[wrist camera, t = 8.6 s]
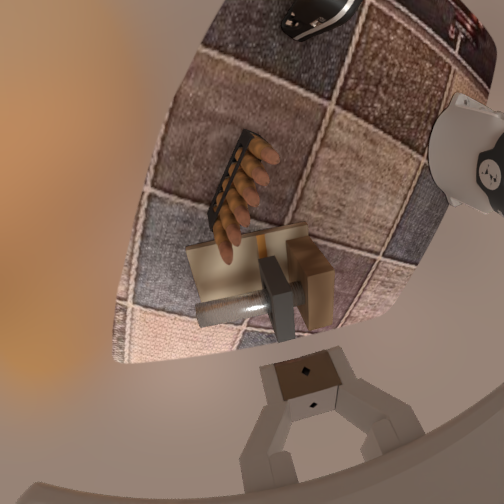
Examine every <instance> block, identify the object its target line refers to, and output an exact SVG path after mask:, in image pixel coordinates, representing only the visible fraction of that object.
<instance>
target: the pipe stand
mask: <svg viewBox="0 0 504 504" xmlns="http://www.w3.org/2000/svg"><path fill="white" fill-rule="evenodd" d="M241 236H242V238H241V244H240V246H239V247H236V246H234V245H233V244H232V248H233V261H232V263H231V264H230V265H227V264H226V263H225V262H224V261H223V260H222V258H221V255H220V252H219V249H218V246H217V244H216V242H215V240H214V241H209V242H205V243H200V244H196V245H191V246H187V247H186V253H187V257H188V260H189V263H190V267H191V270H192V273H193V277H194V280H195V283H196V287H197V290H198V293H199V296H200V299H201V302H207V301H211V300H216V299H221V298H225V297H230V296H235V295H239V294H244V293H248V292H253V291H257V290H261V289H262V283H261V276H260V269H259V263H258V259H260V258H265V257H270V256H274V255H275V257H276V259H277V261H278V263H279V265H280V267H281V269H282V271H283V273H284V275H285V277H286V279H287V281H288V283H291V282H295V281H300V282H301V284H302V287H303V290H304V294H305V304H304V305H300V306H297V307H298V309H299V311H300V313H301V316H302V318H303V320H304V322H305V324H306V326H307V328H308V330H309V331H311V330H314V329H318V328H321V327H325V326H328V325H332V320H333V302H334V277H335V270H334V268H333V267H332V266H331V264H330V263H329V262H328V260H327V259H326V258H325V256H324V255H323V254H322V253H321V251H320V250H319V249H318V247H317V246H316V245H315V243H314V242H313V241H312V240H311V238H310V237H309V236H308V224H307V223H306V222H300V223H295V224H290V225H285V226H281V227H276V228H271V229H266V230H261V231H256V232H252V233H247V234H242V235H241Z"/></svg>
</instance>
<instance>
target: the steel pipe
mask: <svg viewBox="0 0 504 504" xmlns="http://www.w3.org/2000/svg"><path fill="white" fill-rule="evenodd" d="M289 285H290V287H291V289H292V294H293V307H296V306H300V305H304V304H305V294H304V290H303V287H302V284H301V282H300V281H295V282H291V283H289ZM195 310H196V316H197V320H198V323H199V326H200V328H203V327H208V326H213V325H218V324H223V323H227V322H232V321H236V320H241V319H246V318H250V317H254V316H259V315H263V314H267V313H271V312H272V307H271V299H270V296H269V293H268V291H267V288H266V289H261V290H257V291H253V292H248V293H244V294H239V295H235V296H230V297H225V298H221V299H216V300H211V301H207V302H202V303H197V304H195Z"/></svg>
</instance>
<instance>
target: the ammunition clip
mask: <svg viewBox="0 0 504 504" xmlns="http://www.w3.org/2000/svg"><path fill="white" fill-rule="evenodd" d="M254 155H255V156H256V157H257V158H258V159H257V158H256V157H255V156H254ZM261 160H264V161H265V162H267V163H269V164H278V163H279V161H280V157H279V155H278V153H277V152H276V151H275V150H274V149H273V148H272V146H271V145H270V144H269V143H268V142H267V141H266V140H265V139H263V138H262V137H261V136H260V135H259V134H256V133H254V132H251V131H249V130H247V129H243V132H242V134H241V136H240V138H239V140H238V143H237V145H236V147H235V149H234V151H233V154H232V156H231V158H230V161H229V163H228V165H227V167H226V170H225V172H224V174H223V177H222V179H221V181H220V184H219V186H218V188H217V191H216V193H215V196H214V198H213V200H212V203H211V205H210V208H209V210H208V213H207V215H208V221H209V227H210V231H212V232H213V233H214V238H215V242H216V244H217V246H218V249H219V252H220V255H221V258H222V260H223V261H224V262H225V263H226V264H227V265H230V264H231V263H232V261H233V248H232V244H233V245H234V246H236V247H239V246H240V244H241V238H242V236H241V231H240V226H239V225H242V226H243V227H248V226H249V224H250V214H249V211H248V208H247V203H248V204H249V205H250V206H252V207H258V205H259V201H260V199H259V195H258V192H257V190H256V186H255V183H254V182H253V180H254V181H255V182H256V183H258V184H260V185H262V186H267V185H268V184H269V180H270V179H269V175H268V173H267V172H266V170H265V169H264V166H263V164H262V163H261Z"/></svg>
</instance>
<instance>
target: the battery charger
mask: <svg viewBox="0 0 504 504" xmlns="http://www.w3.org/2000/svg"><path fill="white" fill-rule="evenodd" d="M361 2H362V0H295V2H294V3H293V5H292V7H291V8H290V10H289V11H288V13H287V14H286V16H285V18H284V19H283V21H282V23H281V28H282V30H283V31H284V32H285V33H287V34H288V35H289V36H291V37H293V39H295V40H298V41H300V42H302V41H304V40H307V39H309V38H311V37H313V36H316V35H319V34H321V33H324V32H326V31H329V30H331V29H334V28H336V27H338V26H341V25H342V24H344V23H346V22H347V21H348V20H349V19H350V18H351V17H352V16H353V15H354V13H355V12H356V10H357V9H358V7H359V5H360V4H361Z"/></svg>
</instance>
